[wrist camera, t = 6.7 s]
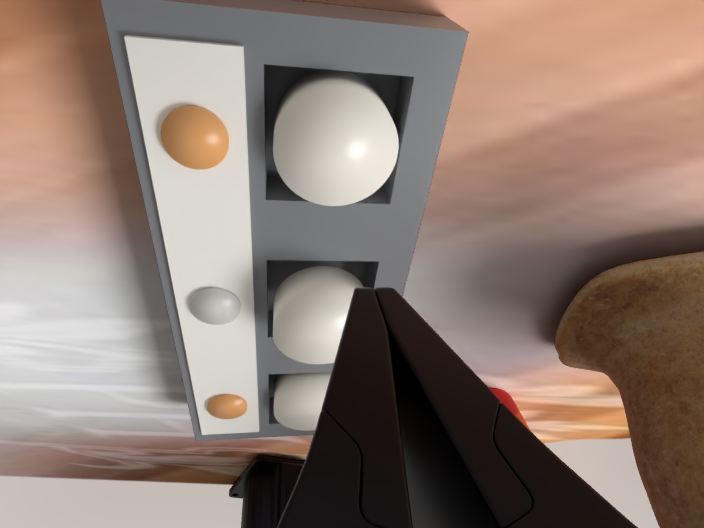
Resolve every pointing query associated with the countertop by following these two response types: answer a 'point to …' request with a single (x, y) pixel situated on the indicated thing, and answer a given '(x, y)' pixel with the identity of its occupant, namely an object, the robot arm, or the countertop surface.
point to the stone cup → (650, 370)
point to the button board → (265, 173)
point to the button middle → (312, 313)
